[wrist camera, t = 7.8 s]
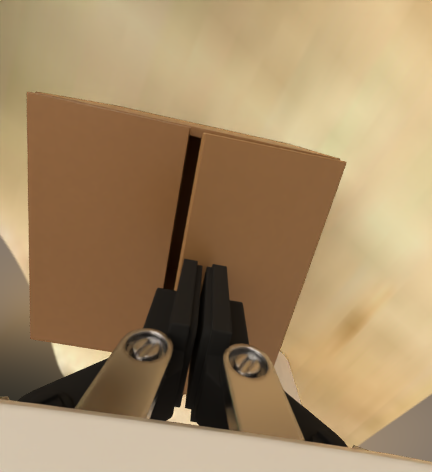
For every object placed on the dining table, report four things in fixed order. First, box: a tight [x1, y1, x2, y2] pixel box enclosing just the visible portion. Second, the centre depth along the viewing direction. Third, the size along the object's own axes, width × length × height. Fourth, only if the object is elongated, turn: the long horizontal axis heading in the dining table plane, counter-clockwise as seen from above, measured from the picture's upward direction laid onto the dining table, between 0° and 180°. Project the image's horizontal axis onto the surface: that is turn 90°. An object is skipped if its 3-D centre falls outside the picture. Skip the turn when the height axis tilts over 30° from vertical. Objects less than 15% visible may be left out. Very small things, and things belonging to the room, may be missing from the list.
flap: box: [174, 133, 346, 395], centre depth 13 cm, size 6×12×1 cm, turn 169°
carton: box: [27, 92, 340, 352], centre depth 18 cm, size 13×12×10 cm
